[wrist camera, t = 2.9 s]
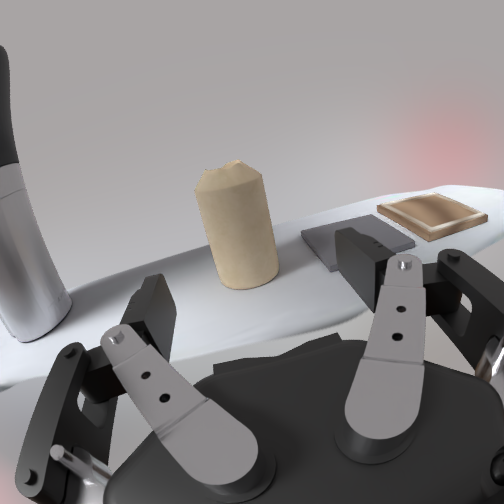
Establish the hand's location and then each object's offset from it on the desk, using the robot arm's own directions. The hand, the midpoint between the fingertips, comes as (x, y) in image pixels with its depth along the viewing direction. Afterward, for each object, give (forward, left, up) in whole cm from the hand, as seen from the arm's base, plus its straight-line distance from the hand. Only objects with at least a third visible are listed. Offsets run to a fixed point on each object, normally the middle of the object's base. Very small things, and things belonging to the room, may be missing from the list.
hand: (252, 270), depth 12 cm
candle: (0, +11, -6) cm, 13 cm away
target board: (+23, +13, -6) cm, 27 cm away
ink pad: (+11, +12, -6) cm, 18 cm away
